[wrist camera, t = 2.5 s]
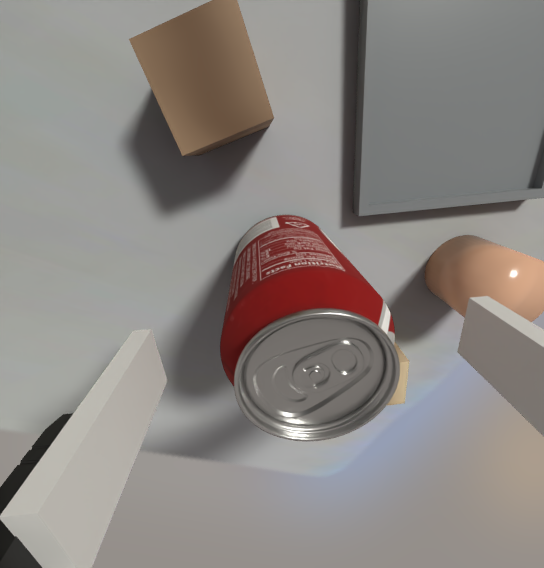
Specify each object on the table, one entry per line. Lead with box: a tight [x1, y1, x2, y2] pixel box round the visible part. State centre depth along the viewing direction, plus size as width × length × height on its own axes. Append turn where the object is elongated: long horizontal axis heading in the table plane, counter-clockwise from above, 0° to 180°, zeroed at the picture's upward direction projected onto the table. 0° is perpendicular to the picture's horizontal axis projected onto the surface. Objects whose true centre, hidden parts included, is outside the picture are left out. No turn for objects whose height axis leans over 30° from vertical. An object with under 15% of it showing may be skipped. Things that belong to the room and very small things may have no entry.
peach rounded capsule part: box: [425, 235, 544, 322], centre depth 19 cm, size 5×5×5 cm
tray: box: [353, 0, 544, 216], centre depth 16 cm, size 12×12×1 cm
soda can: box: [220, 215, 400, 441], centre depth 15 cm, size 7×7×12 cm
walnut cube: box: [129, 0, 274, 156], centre depth 14 cm, size 4×4×4 cm
